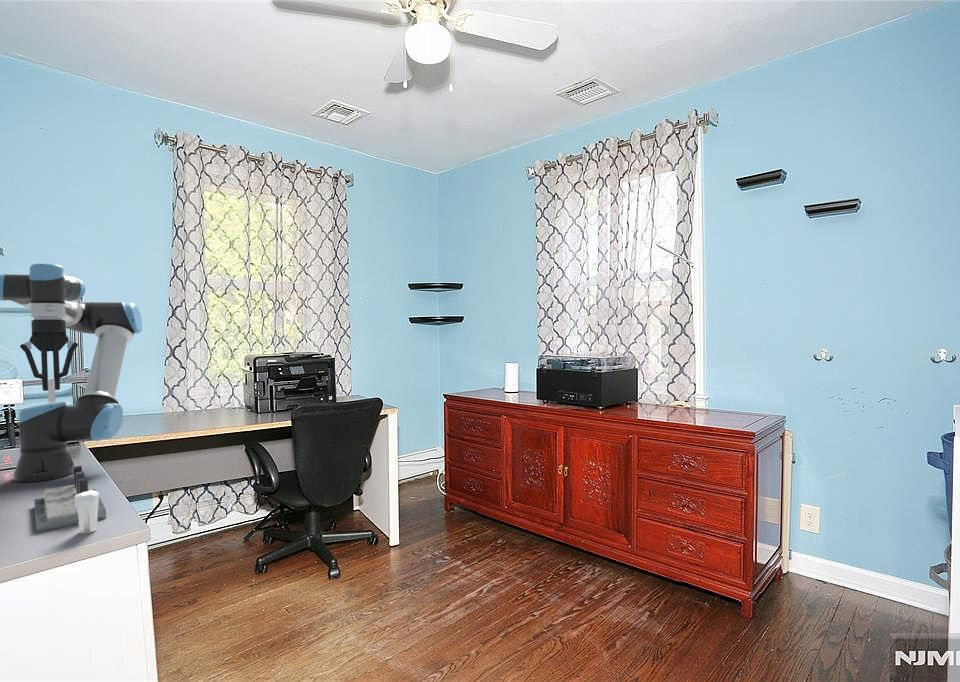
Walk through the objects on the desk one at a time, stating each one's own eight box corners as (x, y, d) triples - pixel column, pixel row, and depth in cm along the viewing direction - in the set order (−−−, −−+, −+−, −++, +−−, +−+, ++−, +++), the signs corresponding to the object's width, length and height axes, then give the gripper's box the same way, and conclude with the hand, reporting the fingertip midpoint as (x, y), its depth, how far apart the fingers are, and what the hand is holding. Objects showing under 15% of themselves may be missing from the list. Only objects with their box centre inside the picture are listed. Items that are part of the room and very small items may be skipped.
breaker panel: (34, 507, 137) (33, 470, 137) (95, 496, 146) (94, 461, 146) (36, 532, 119) (35, 490, 119) (106, 517, 128) (104, 478, 128)
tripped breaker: (76, 491, 134) (75, 472, 134) (84, 489, 135) (83, 471, 135) (77, 493, 132) (76, 474, 132) (85, 491, 134) (84, 473, 133)
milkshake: (82, 527, 121) (81, 485, 121) (105, 527, 121) (103, 484, 121) (66, 535, 117) (65, 491, 117) (89, 535, 117) (88, 490, 117)
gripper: (18, 318, 140) (21, 405, 141) (78, 318, 149) (81, 400, 150) (17, 319, 146) (21, 403, 147) (76, 319, 155) (79, 398, 155)
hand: (51, 401), depth 148 cm, fingers closed
